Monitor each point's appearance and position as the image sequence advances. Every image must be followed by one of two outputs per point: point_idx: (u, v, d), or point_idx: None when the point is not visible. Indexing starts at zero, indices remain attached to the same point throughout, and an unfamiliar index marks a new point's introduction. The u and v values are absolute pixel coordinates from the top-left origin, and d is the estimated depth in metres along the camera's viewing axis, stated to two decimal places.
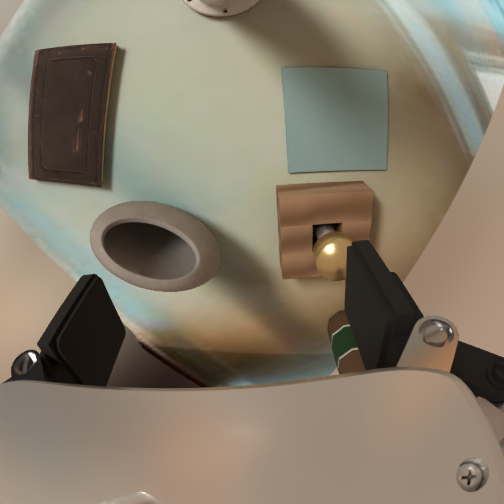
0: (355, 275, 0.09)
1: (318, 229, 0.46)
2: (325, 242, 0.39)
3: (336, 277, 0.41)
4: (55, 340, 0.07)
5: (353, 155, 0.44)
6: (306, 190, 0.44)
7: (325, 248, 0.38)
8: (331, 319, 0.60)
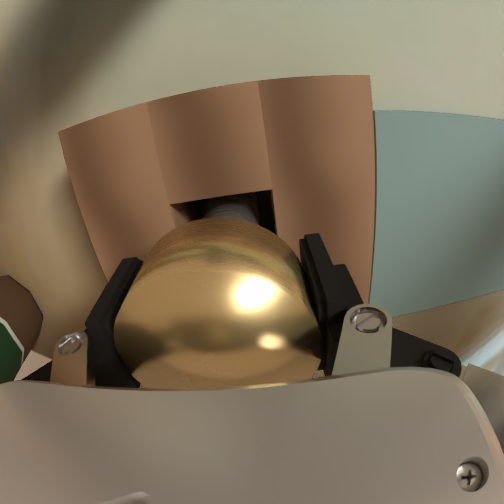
0: (304, 266, 0.10)
1: (244, 208, 0.15)
2: (295, 278, 0.08)
3: (136, 360, 0.08)
4: (105, 319, 0.08)
5: (402, 256, 0.20)
6: None
7: (292, 297, 0.07)
8: (9, 281, 0.21)
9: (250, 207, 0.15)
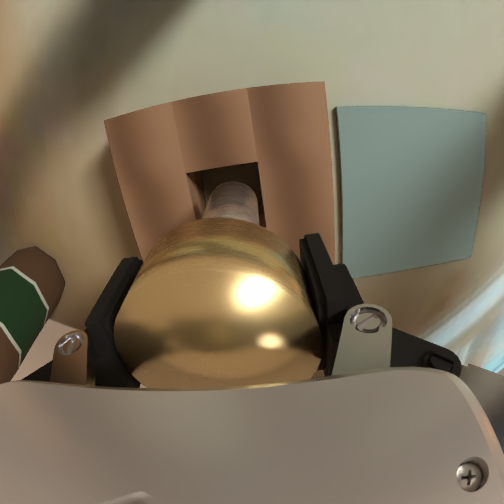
0: (304, 266, 0.10)
1: (244, 208, 0.15)
2: (295, 277, 0.08)
3: (136, 359, 0.08)
4: (104, 319, 0.08)
5: (367, 222, 0.26)
6: None
7: (292, 297, 0.07)
8: (36, 251, 0.26)
9: (250, 207, 0.15)
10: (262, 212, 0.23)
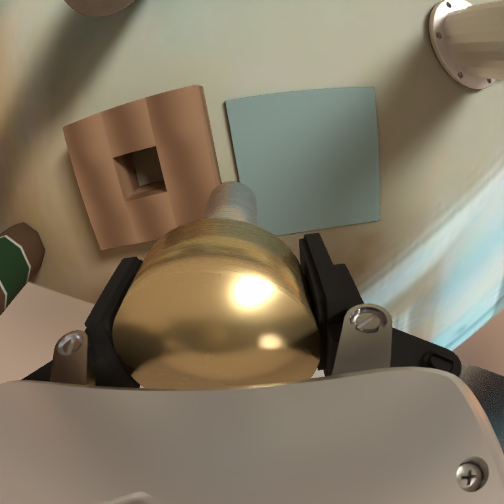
0: (304, 266, 0.10)
1: (243, 209, 0.15)
2: (294, 279, 0.08)
3: (135, 361, 0.08)
4: (105, 319, 0.08)
5: (263, 189, 0.33)
6: (206, 127, 0.27)
7: (290, 298, 0.07)
8: (24, 226, 0.33)
9: (249, 208, 0.15)
10: None
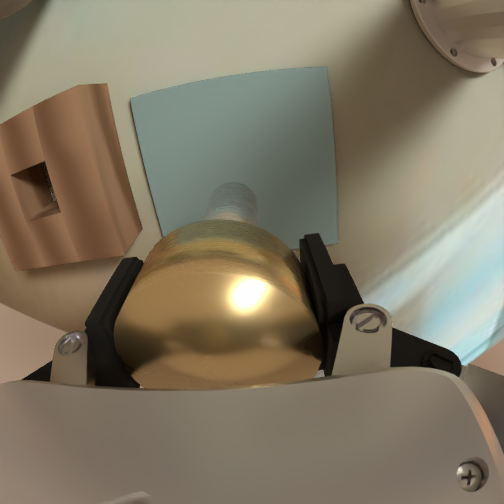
0: (304, 266, 0.10)
1: (244, 210, 0.15)
2: (295, 280, 0.08)
3: (137, 362, 0.08)
4: (105, 319, 0.08)
5: (180, 204, 0.26)
6: (99, 133, 0.20)
7: (292, 300, 0.07)
8: None
9: (250, 208, 0.15)
10: None
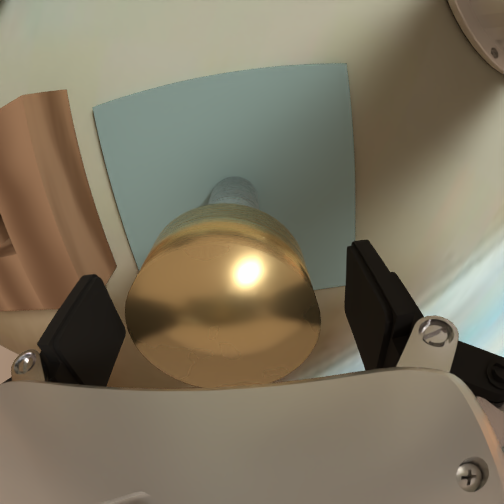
0: (355, 275, 0.09)
1: (246, 200, 0.15)
2: (294, 256, 0.09)
3: (146, 336, 0.09)
4: (55, 339, 0.07)
5: None
6: (53, 155, 0.15)
7: (291, 270, 0.08)
8: None
9: (251, 200, 0.16)
10: None
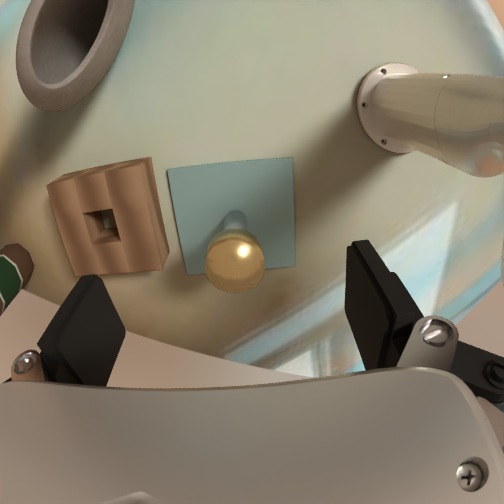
0: (355, 275, 0.09)
1: (242, 224, 0.37)
2: (257, 246, 0.31)
3: (210, 269, 0.31)
4: (55, 340, 0.07)
5: (196, 238, 0.42)
6: (149, 194, 0.36)
7: (255, 249, 0.30)
8: (18, 246, 0.41)
9: (244, 223, 0.38)
10: None
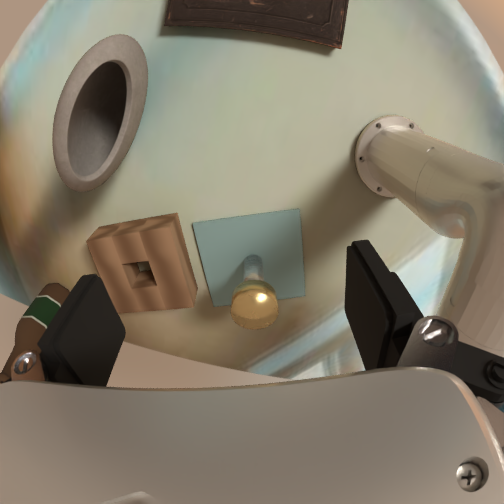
0: (355, 275, 0.09)
1: (259, 269, 0.45)
2: (272, 294, 0.39)
3: (235, 313, 0.39)
4: (55, 340, 0.07)
5: (220, 278, 0.50)
6: (179, 247, 0.44)
7: (270, 298, 0.37)
8: (58, 286, 0.51)
9: (260, 268, 0.46)
10: None
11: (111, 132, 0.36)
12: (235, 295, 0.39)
